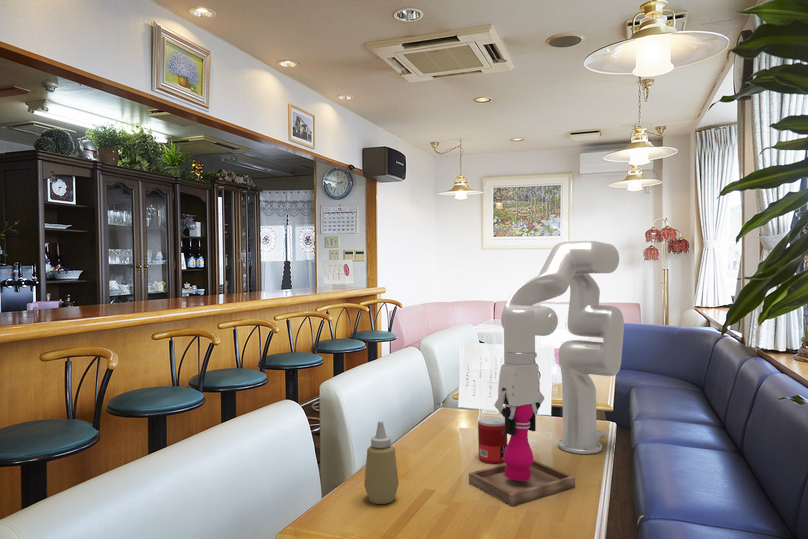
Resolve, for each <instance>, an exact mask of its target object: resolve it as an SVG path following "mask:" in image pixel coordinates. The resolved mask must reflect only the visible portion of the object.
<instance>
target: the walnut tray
mask: <svg viewBox="0 0 808 539" xmlns="http://www.w3.org/2000/svg"><path fill="white" fill-rule="evenodd" d="M506 466H507V465H506V463H502V464H500V465H499V464H498V465H496V466H491V467H487V468H483V469H480V470H476V471H472V472H468V484H469V485H471V486H473V487H474V488H477V489H479V490H480V491H483V492H485V493H486V494H488V495H490V496H492V497H494V498H495V499H497V498H498V500H500V501H501V502H503V503H505V504H507V505H509V506H511V507H515V506H518V505H522V504H524V503H525V502H526V503H528V501H529V502H532V501H535V500H539V499H541V498H545V497H548V495H549V496H552V495H554V494H559V493H561V492H565V491H568V490H572V489H574V487H575V488H576V477H575V476H573V475H571V474H569V473H565V472H563V471H562V470H558V469H556V468H553V467H551V466H549V465H546V464H544V463H541V462H539V461H537V460H534V459H533V464H532V465H531V466H530V467H529V469H530V471H531V478H530V479H529V480H526V481H518V480H512V479H509V478H507V477H506V476H505V467H506ZM571 488H572V489H571ZM526 503H525V504H526Z"/></svg>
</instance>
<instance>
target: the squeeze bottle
mask: <svg viewBox="0 0 808 539" xmlns="http://www.w3.org/2000/svg"><path fill="white" fill-rule="evenodd" d="M375 432H376V433H375V435H374V436H372V437H371V438H370V446H368V448H367V449H366V458H365V459H366V461H365V463H366V464H365V472H364V473H365V474H364V484H363V486H364V489H365V492H366V494H367V498H368V501H369V502H371V503H372V504H376V505H386V504H390V503H391V502H393V501H395V498H396V494H397V491H398V489H399V484H400V483H399V474H398V466H397V457H396V448H395V447H394V446H393V445H392V442H391V440H392V438H391V436H390V435H387V434H386V429H385V425H384V422H383V421H378V422H377V426H376V430H375Z"/></svg>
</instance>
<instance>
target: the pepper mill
mask: <svg viewBox="0 0 808 539" xmlns="http://www.w3.org/2000/svg"><path fill="white" fill-rule="evenodd" d="M509 412H510V407H509ZM532 415H533V409H532V407H531V405H530V404H527V405H522V406H519V407H516V410H515V414H514V417H513V419H515V420H516V435H514V436H512V435H510V438H509V441H508V442H507V447H506V449H505V451H504V456H503V460H504V464H506V465H507V466H506V467H505V476H506V477H507V478H509V479H512V480H518V481H526V480H529V479H530V478H531V471H530V469H529V467H530V466H531V465H532V464H533V460H534V454H533V451H532V448H531V446H530V443H529V438H528V436H529V435H528V433H529V430H528V428H530V421H529V419H530V418H531V417H532Z"/></svg>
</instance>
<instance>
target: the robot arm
mask: <svg viewBox="0 0 808 539" xmlns="http://www.w3.org/2000/svg"><path fill="white" fill-rule="evenodd" d="M619 264H620V255H619V251H618V249H617V248H616V247H615V246H614V245H613V244H611V243H606V242H601V241H597V240H596V241H595V240H579V241H578V240H577V241H576V240H575V241H561V242H559V243H557V244H555V245H554V246H552V249H551V251H550V252H549V255H548V256H547V258H546V260H545V262H544V264H543V266H542V268H541V270H540V272H539V273H538V275H536V276H534V277H532V278H531V279H529V280H528V281H525V283H524V284H522V285H520V286H519V287H517V288H516V289H515V290H514V291H513V292H512V293H511V295H510V296H509V298H508V300H507V301H506V303H505V305H504V307H503V309H502V312H501V317H500V321H501V327H502V328H503V363H502V364H501V366H500V370H499V376H498V377H499V378H498V386H497V388H498V389H497V399H496V401H495V402H494V407H495V408H496V409H497V410H498V411H499V413H500V414H501V416H502V418H504V419H505V433H507V435H509V436H511V435H512V436H514V435H516V420H515V419H513V417H514V414H515V410H516V407H519V406H522V405H527V404H530V405H531V407H532V409H533V415H532V417H531V418H530V419H529V421H530V428H528V431H529V432H530V431H531V432H536V430H537V428H536V425H537V423H536V421H537V419H536V418H537V416H538V412H539V409H540V407H541V405H542V404H543V402H544V400H545V396H544V395H543V393H542V392H541V390H540V386H541V385H540V377H539V370H538V365H537V363H536V358H537V357H538V354H537V352H536V337H537V336H539V337H546V336H549V335H552V334H553V333H554V332H555V331H556V329H557V327H558V324H559V318H558V314H557V313H556V312H555V310H554V309H553V308H551V307H549V306H543V305H536V304H538V303H541V302H545V301H548V300H552V299H554V298H557V297H560V296H562V295H564V294H565V293H566V292H567V291H568V288H570V290H569V291H570V292H569V293H570V294H569V304H568V311H567V312H568V313H567V329H568V332H569V333H570V334H572V335H574V336H577V337H583V338H584V337H585V338H586V337H588V338H596V339H597V338H600V339H602V340H603V341H592V340H577V339H574V340H573V339H571V340H567V341H565V342H563V343H561V345H560V346H559V349H558V362H559V367H560V374H561V385H562V386H561V388H562V392H561V393H562V396H561V397H562V438H559V439H558V441H557V446H558V448H559V449H561V450H562V451H566V452H568V453H573V454H580V455H591V454H597V453H600V452H601V451H602V450H603V444H602V443H601V442H600V441H599V440H600V439H602V438H606V437H607V435H608V433H607V431H606V430H600V431H598V430H597V425H598V424H597V388H596V385H595V382H594V381H593V380H592V377H591V376H590V375H593V376H594V375H595V376H603V377H613V376H616V375H617V374H618V373H619V372H620V370H621V367H622V358H623V357H622V356H623V344H624V332H625V330H624V329H625V318H624V316H623V313H622V311H621V309H620V308H618V307H617V306H614V305H601V304H600V297H601V296H600V295H601V294H600V293H601V291H600V287H599V285H598V283H597V282H596V280H595V279H594V277H592V276H591V274H612V273H614V272H615V271H616V270H617V269H618V267H619ZM509 407H510V412H509Z"/></svg>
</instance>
